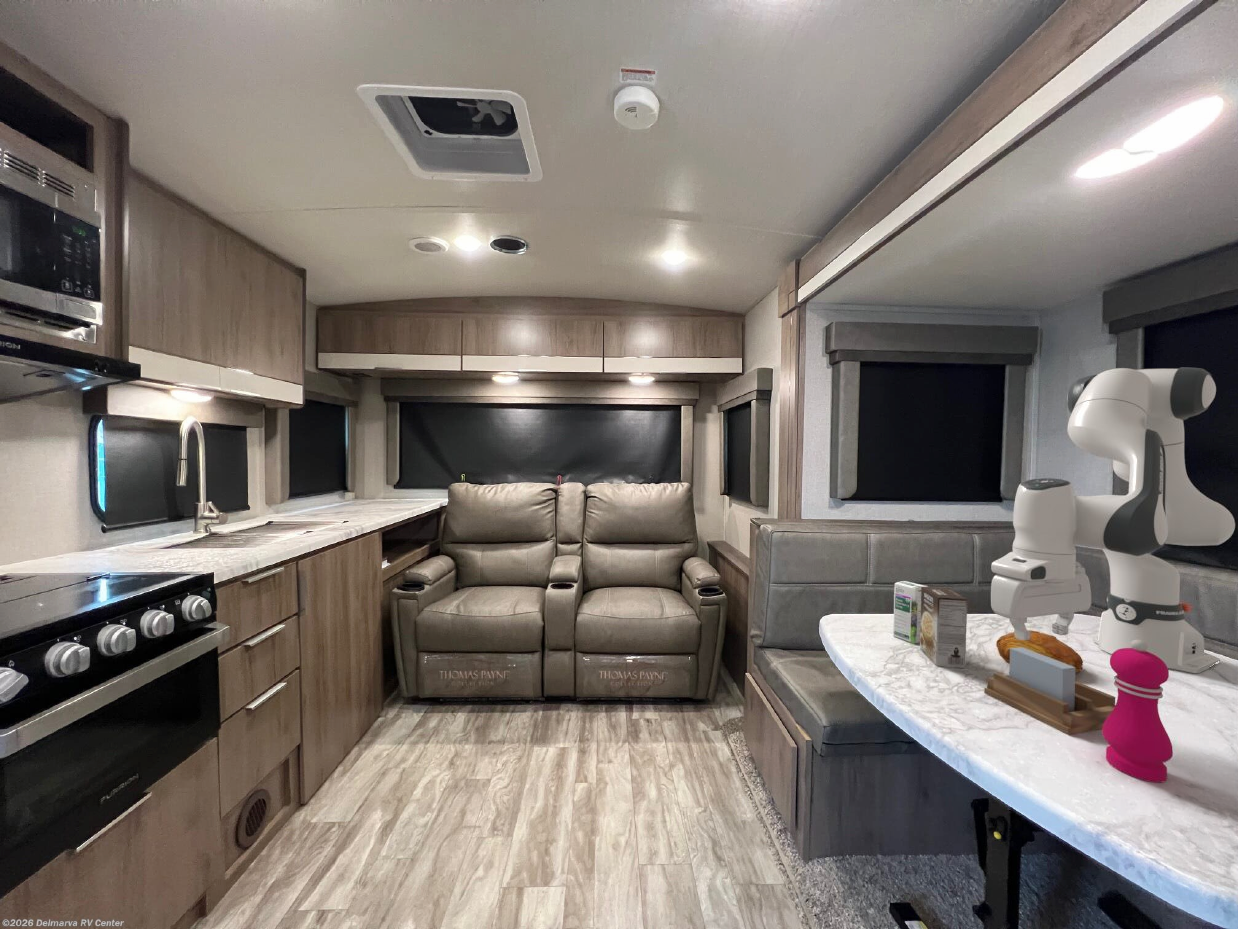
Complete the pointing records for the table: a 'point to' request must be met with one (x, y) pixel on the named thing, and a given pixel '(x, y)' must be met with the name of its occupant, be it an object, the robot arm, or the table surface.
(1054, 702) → the rack
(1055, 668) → the tile
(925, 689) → the table surface
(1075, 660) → the croissant
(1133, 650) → the pepper mill
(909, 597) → the syrup box
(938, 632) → the coffee box
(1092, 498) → the robot arm
